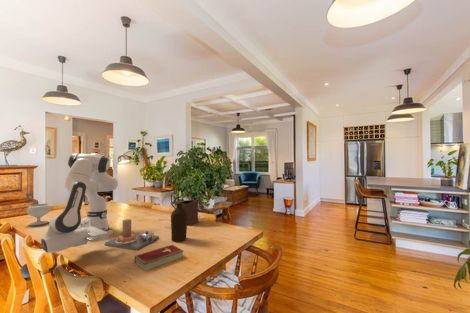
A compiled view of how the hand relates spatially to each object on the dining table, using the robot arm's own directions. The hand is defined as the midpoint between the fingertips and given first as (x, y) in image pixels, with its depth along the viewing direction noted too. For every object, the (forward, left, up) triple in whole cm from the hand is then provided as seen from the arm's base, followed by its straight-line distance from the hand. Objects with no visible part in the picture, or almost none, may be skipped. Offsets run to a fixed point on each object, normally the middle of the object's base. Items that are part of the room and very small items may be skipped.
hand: (108, 230), depth 127 cm
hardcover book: (+38, -4, -11) cm, 40 cm away
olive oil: (+33, +24, -11) cm, 42 cm away
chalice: (-94, +21, -11) cm, 97 cm away
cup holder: (+17, +60, -11) cm, 64 cm away
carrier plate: (+7, +12, -10) cm, 17 cm away
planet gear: (+3, +10, -9) cm, 14 cm away
